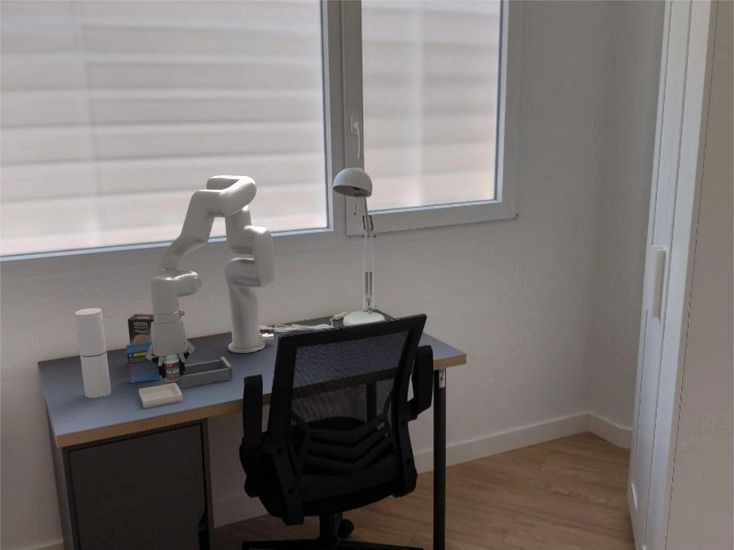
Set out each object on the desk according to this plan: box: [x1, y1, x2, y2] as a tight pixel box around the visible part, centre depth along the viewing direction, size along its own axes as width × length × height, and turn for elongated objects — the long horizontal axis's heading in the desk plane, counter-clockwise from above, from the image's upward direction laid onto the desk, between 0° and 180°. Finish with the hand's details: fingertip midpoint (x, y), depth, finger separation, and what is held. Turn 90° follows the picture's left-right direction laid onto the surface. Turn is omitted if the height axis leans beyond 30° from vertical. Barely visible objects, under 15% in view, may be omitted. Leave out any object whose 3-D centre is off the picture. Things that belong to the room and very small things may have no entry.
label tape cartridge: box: [125, 342, 161, 384], centre depth 218 cm, size 9×4×12 cm, turn 108°
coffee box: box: [127, 313, 164, 360], centre depth 232 cm, size 9×6×16 cm
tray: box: [138, 382, 184, 409], centre depth 204 cm, size 11×11×2 cm
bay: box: [180, 356, 233, 389], centre depth 218 cm, size 15×10×4 cm, turn 114°
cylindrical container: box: [74, 307, 112, 399], centre depth 206 cm, size 7×7×25 cm
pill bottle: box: [162, 354, 181, 383], centre depth 214 cm, size 5×5×8 cm
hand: (172, 374), depth 214 cm, fingers closed on pill bottle, 4 cm apart
